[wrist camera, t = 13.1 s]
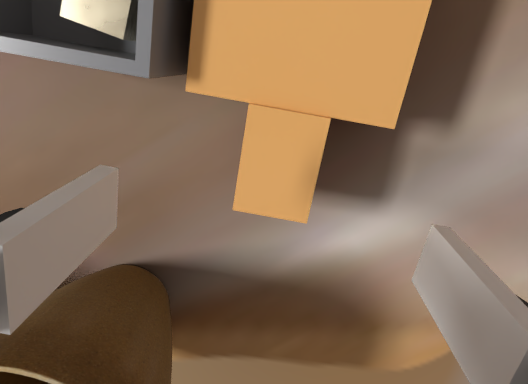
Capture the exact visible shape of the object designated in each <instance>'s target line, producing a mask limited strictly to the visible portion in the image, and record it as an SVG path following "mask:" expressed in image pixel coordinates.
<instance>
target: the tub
mask: <svg viewBox="0 0 528 384" xmlns="http://www.w3.org/2000/svg"><path fill="white" fill-rule="evenodd" d="M193 1H194V0H138V13H137V34H136V41H129V40H123V39H120V38H117V37H115V36H112V35H109V34H107V33H104V32H101V31H99V30H96V29H93V28H91V27H88V26H85V25H83V24H80V23H77V22H75V21H72V20H69V19H67V18H64V17H61V16H60V11H61V4H62V0H0V51H1V52H6V53H12V54H17V55H23V56H28V57H34V58H39V59H45V60H50V61H56V62H61V63H67V64H72V65H78V66H83V67H89V68H94V69H100V70H105V71H111V72H116V73H122V74H127V75H133V76H138V77H144V78H157V77H165V76H173V75H182V74H187V64H188V54H189V43H190V33H191V22H192V11H193Z"/></svg>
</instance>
